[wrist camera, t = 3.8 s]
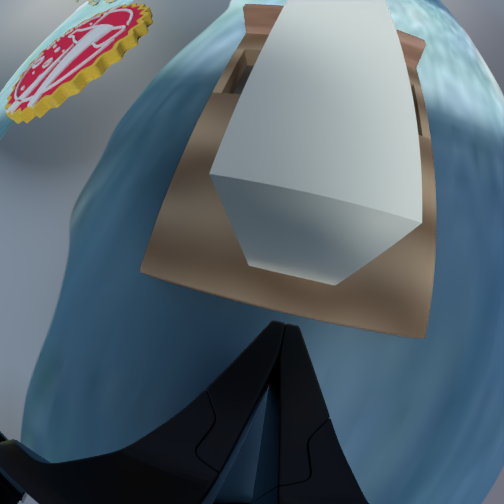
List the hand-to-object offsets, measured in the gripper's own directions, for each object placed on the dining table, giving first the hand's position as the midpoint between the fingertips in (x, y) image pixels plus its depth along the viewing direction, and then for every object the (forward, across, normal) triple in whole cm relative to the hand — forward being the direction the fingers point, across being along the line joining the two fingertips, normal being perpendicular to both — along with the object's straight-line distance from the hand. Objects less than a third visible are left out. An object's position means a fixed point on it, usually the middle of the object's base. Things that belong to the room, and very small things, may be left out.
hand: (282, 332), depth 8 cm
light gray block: (+12, 0, -2) cm, 12 cm away
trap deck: (+16, 0, -3) cm, 17 cm away
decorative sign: (+29, +41, -15) cm, 52 cm away
